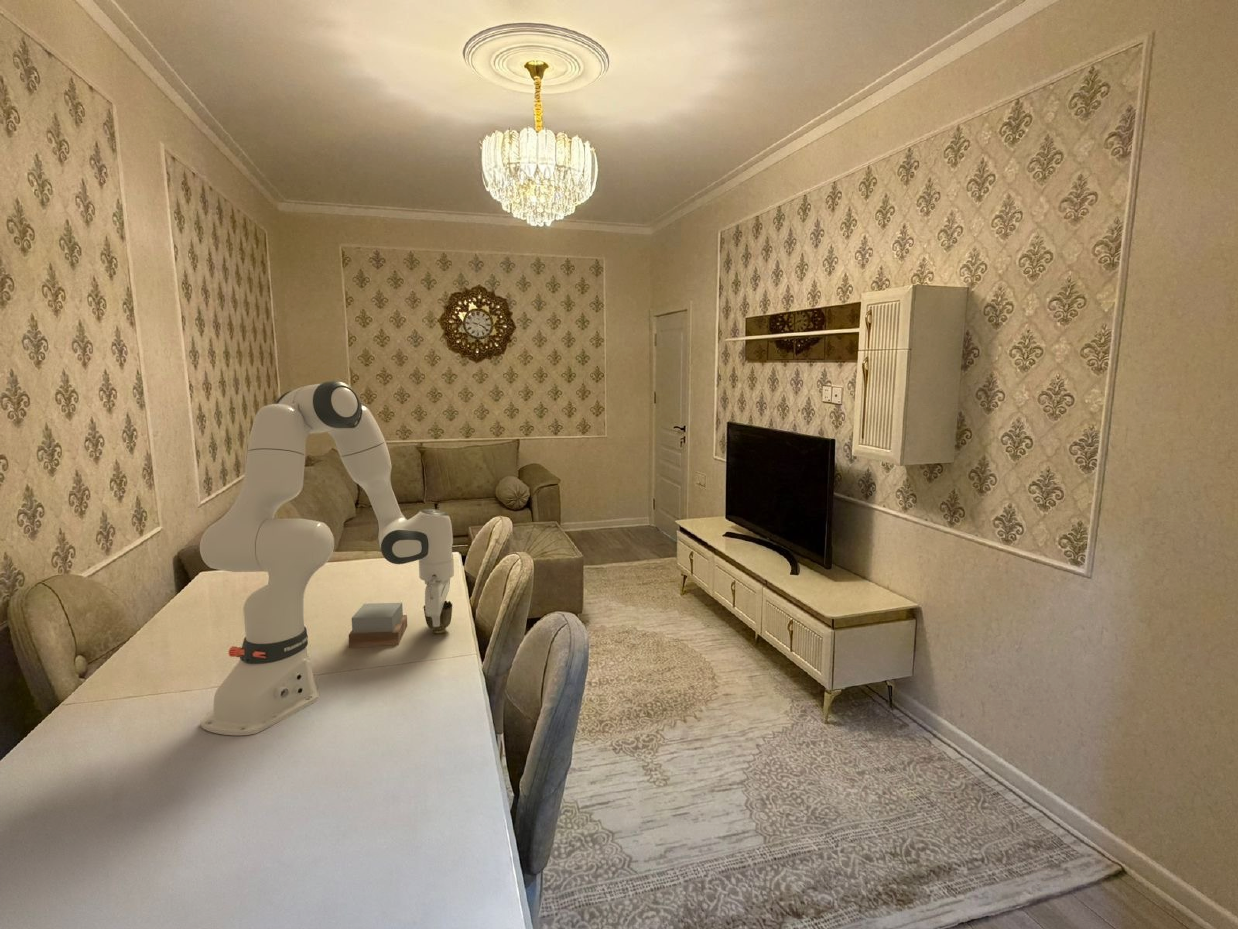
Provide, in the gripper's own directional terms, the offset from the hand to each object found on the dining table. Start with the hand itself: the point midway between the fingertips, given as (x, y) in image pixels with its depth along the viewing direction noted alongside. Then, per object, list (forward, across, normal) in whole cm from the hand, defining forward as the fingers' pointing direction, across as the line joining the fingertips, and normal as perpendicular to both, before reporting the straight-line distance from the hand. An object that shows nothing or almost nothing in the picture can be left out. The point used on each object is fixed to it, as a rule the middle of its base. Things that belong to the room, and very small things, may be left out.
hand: (438, 620), depth 169 cm
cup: (+4, 0, 0) cm, 4 cm away
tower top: (0, 0, +15) cm, 15 cm away
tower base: (+4, 0, +15) cm, 16 cm away
